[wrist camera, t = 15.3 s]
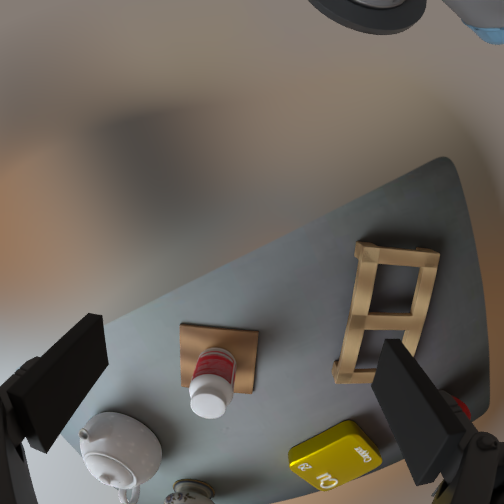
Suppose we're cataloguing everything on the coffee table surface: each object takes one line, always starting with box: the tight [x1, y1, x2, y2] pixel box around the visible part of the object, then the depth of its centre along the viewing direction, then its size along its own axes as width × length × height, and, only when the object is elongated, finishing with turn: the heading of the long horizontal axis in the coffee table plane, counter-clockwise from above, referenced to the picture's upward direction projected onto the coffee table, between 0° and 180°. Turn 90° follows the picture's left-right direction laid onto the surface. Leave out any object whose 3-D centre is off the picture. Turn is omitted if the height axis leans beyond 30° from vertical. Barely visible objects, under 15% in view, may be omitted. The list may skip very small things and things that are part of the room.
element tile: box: [288, 420, 382, 491], centre depth 52 cm, size 15×15×5 cm
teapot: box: [79, 412, 162, 504], centre depth 49 cm, size 19×18×14 cm
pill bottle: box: [189, 348, 236, 419], centre depth 44 cm, size 6×6×11 cm
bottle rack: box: [332, 241, 440, 384], centre depth 45 cm, size 22×13×4 cm, turn 175°
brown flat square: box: [180, 324, 258, 394], centre depth 49 cm, size 12×12×1 cm
